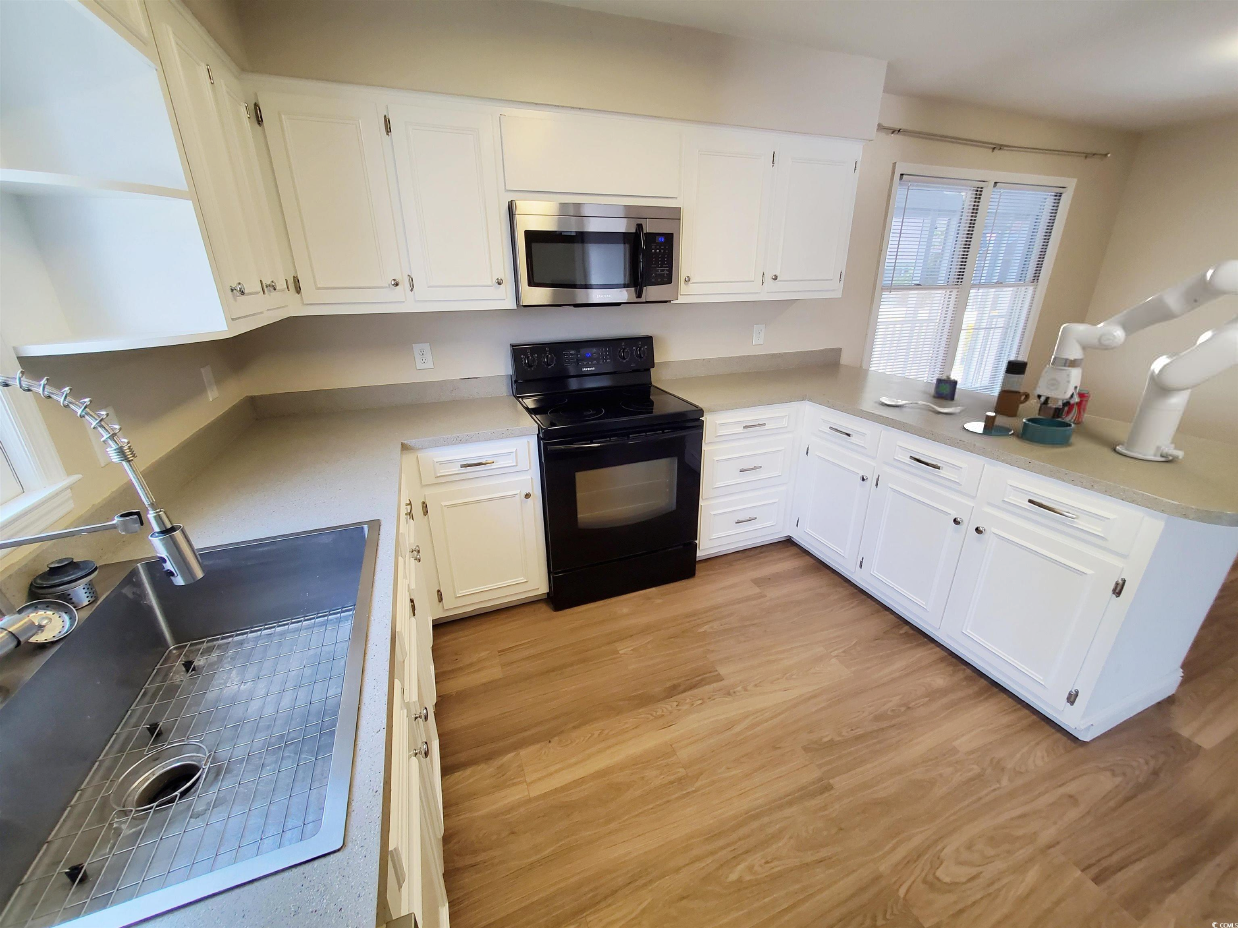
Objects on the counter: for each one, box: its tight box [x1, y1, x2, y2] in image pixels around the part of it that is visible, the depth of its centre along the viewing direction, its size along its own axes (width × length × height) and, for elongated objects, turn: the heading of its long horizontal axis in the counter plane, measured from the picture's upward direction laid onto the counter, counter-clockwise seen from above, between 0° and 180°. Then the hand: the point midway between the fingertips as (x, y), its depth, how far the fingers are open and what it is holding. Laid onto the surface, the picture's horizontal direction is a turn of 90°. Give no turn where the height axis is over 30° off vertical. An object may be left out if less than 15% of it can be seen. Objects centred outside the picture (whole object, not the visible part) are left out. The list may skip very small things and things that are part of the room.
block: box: [1038, 403, 1058, 419], centre depth 167 cm, size 4×4×4 cm
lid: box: [963, 412, 1014, 437], centre depth 180 cm, size 15×15×7 cm
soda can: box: [1060, 388, 1091, 424], centre depth 187 cm, size 6×6×12 cm
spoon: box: [878, 397, 966, 414], centre depth 210 cm, size 9×32×4 cm, turn 41°
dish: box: [1018, 416, 1076, 447], centre depth 169 cm, size 14×14×6 cm
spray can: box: [999, 359, 1029, 392], centre depth 204 cm, size 7×7×20 cm
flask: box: [932, 374, 959, 401], centre depth 225 cm, size 9×3×11 cm, turn 28°
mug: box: [993, 389, 1031, 418], centre depth 198 cm, size 12×8×9 cm, turn 93°
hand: (1049, 416), depth 167 cm, fingers closed on block, 4 cm apart
